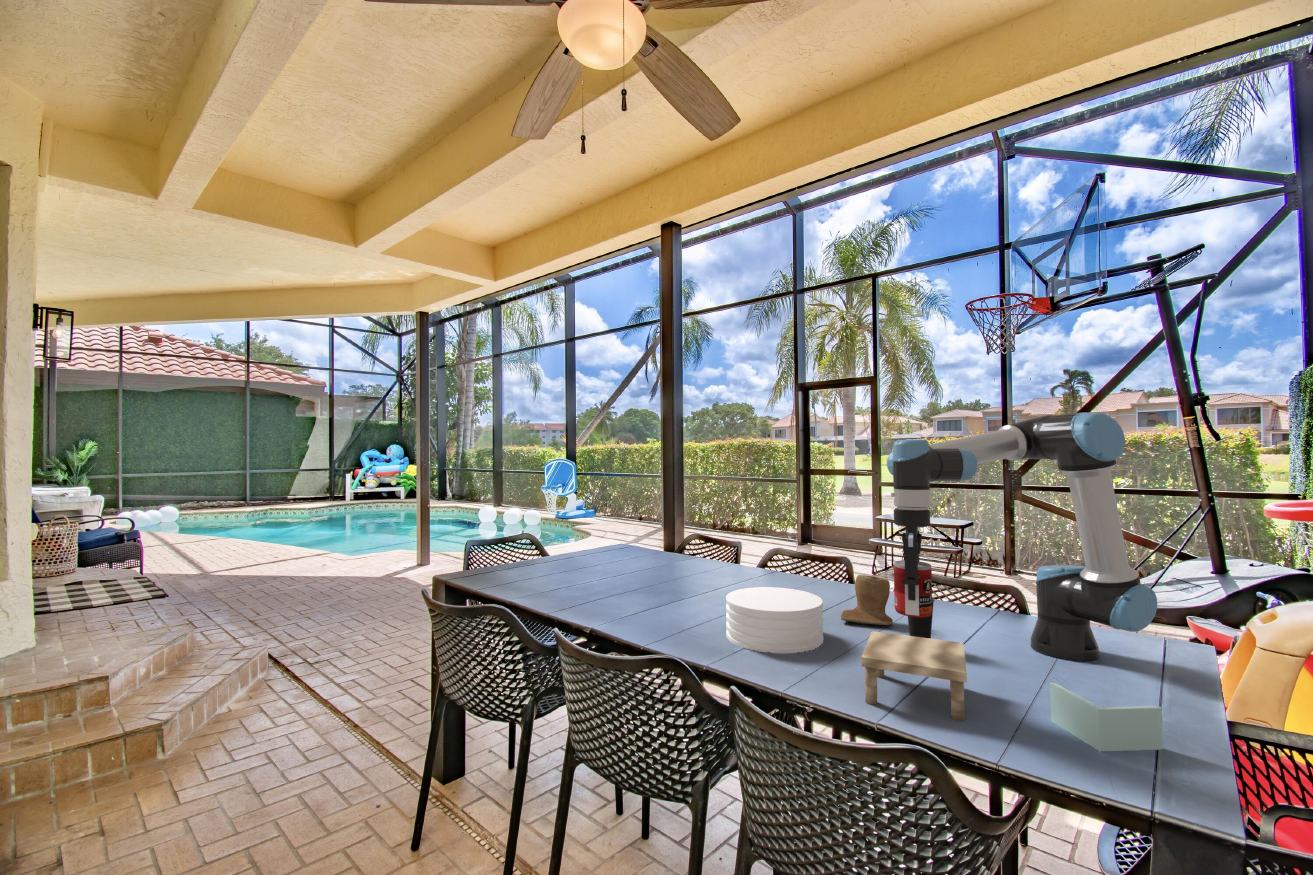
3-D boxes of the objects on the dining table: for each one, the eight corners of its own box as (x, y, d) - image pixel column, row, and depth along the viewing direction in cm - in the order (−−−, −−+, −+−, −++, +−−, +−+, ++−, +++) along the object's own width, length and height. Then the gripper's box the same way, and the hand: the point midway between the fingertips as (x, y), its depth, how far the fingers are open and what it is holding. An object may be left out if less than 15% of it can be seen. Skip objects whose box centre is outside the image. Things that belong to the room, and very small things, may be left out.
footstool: (964, 686, 132) (963, 642, 132) (967, 723, 114) (966, 672, 114) (872, 671, 141) (871, 630, 141) (862, 703, 123) (861, 656, 123)
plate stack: (834, 632, 172) (834, 594, 173) (805, 661, 149) (805, 616, 149) (748, 618, 187) (748, 583, 188) (710, 642, 164) (709, 602, 164)
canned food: (917, 619, 122) (916, 568, 123) (886, 610, 130) (885, 562, 130) (940, 614, 126) (939, 565, 126) (909, 606, 133) (908, 559, 133)
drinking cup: (929, 642, 162) (928, 571, 162) (940, 651, 154) (938, 577, 155) (901, 641, 163) (900, 571, 163) (910, 651, 155) (909, 577, 156)
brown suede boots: (893, 619, 184) (892, 573, 185) (892, 630, 173) (891, 580, 174) (844, 614, 190) (843, 569, 191) (840, 624, 179) (839, 576, 180)
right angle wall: (1163, 749, 104) (1161, 707, 104) (1099, 751, 103) (1098, 709, 103) (1107, 718, 115) (1106, 681, 116) (1050, 720, 115) (1049, 682, 115)
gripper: (896, 503, 139) (898, 597, 139) (889, 511, 121) (891, 619, 120) (930, 504, 136) (932, 600, 135) (929, 513, 117) (930, 624, 117)
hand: (913, 609), depth 128 cm, fingers closed on canned food, 8 cm apart
